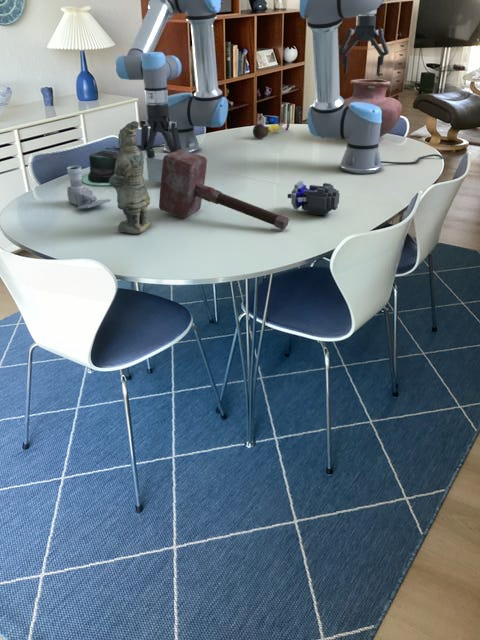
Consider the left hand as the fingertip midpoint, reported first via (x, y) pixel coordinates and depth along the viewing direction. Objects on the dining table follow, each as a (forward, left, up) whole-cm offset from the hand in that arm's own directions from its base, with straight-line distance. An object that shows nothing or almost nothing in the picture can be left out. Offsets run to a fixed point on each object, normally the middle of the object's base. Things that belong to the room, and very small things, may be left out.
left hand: (163, 171), depth 198 cm
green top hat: (-23, +3, -5) cm, 24 cm away
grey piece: (-15, -28, -5) cm, 33 cm away
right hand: (+61, +73, +24) cm, 98 cm away
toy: (+57, -19, -5) cm, 60 cm away
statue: (+9, -44, -5) cm, 45 cm away
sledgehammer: (+33, -31, -5) cm, 45 cm away
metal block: (0, 0, -3) cm, 3 cm away
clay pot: (+64, +85, -5) cm, 106 cm away
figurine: (+19, +86, -5) cm, 88 cm away
